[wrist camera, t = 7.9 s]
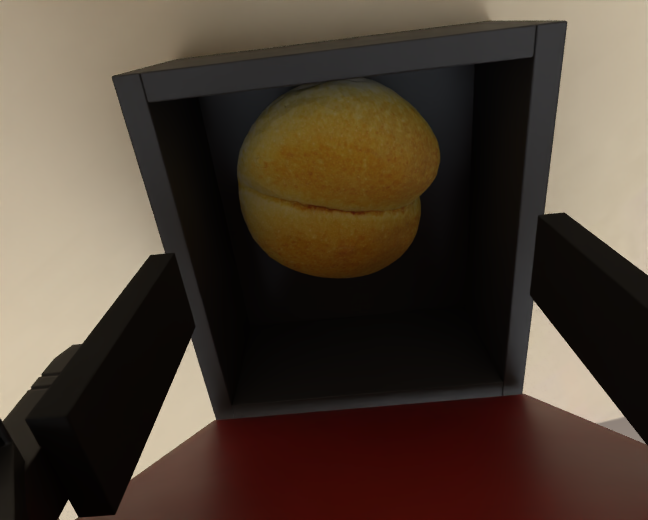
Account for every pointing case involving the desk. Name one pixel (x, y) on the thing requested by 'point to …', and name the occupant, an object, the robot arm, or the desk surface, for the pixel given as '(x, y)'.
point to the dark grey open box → (395, 279)
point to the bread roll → (336, 177)
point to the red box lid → (399, 467)
